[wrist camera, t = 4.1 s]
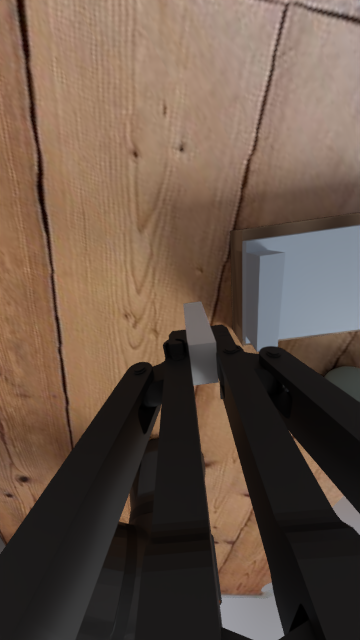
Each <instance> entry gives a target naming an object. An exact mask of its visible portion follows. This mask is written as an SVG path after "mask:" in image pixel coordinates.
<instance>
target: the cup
mask: <svg viewBox="0 0 360 640" xmlns="http://www.w3.org/2000/svg"><path fill="white" fill-rule="evenodd" d="M324 378H326V379H327V380H329V381H330V382H331V383H333V384H334V385H336V386H337V387H339V388H340V389H342V390H343V391H344V392H346V393H347V394H349V395H350V396H352V397H353V398H354V399H356V400H357V401H359V402H360V368H358V367H353V366H342V367H338V368H335V369H333V370H331V371H329V372H328V373H327V374H326V375H325V377H324Z"/></svg>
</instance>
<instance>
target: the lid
mask: <svg viewBox="0 0 360 640" xmlns="http://www.w3.org/2000/svg"><path fill="white" fill-rule="evenodd" d="M359 329H360V225H353V226H346V227H339V228H332V229H325V230H318V231H311V232H303V233H296V234H289V235H282V236H275V237H268V238H261V239H254V240H247V241H242V339H243V340H244V342H245V343H246V344H247V343H251V344H252V345H253V347H254V348H255V350H256V351H260V349H261V348H263V347H267V346H275V347H278V340H279V339H287V338H295V337H303V336H311V335H319V334H327V333H335V332H343V331H351V330H359Z"/></svg>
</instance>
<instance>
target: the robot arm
mask: <svg viewBox="0 0 360 640" xmlns="http://www.w3.org/2000/svg"><path fill="white" fill-rule="evenodd" d="M183 305H184V315H185V325H186V330H178V331H172V332H171V334H170V335H169V340H167V341H166V342H165V343H164V344H163V349H164V354H165V361H164V362H162V363H161V364H159V365H156V366H153V367H152V365H151V364H150V363H148V362H139V363H136V364H134V365H132V366H131V367H130V368H129V369H128V370H127V371H126V373H125V374H124V376H123V377H122V379H121V380H120V382H119V383H118V384H117V386H116V387H115V389H114V390H113V392H112V393H111V395H110V396H109V397H108V399H107V400H106V402H105V403H104V405H103V406H102V408H101V409H100V411H99V412H98V413H97V415H96V416H95V418H94V419H93V421H92V422H91V424H90V425H89V426H88V428H87V429H86V431H85V432H84V434H83V435H82V437H81V438H80V439H79V441H78V442H77V444H76V445H75V447H74V448H73V450H72V451H71V452H70V454H69V455H68V457H67V458H66V460H65V461H64V463H63V464H62V466H61V467H60V468H59V470H58V471H57V473H56V474H55V476H54V477H53V479H52V480H51V481H50V483H49V484H48V486H47V487H46V489H45V490H44V492H43V493H42V494H41V496H40V497H39V499H38V500H37V502H36V503H35V505H34V506H33V508H32V509H31V510H30V512H29V513H28V515H27V516H26V518H25V519H24V521H23V522H22V523H21V525H20V526H19V528H18V529H17V531H16V532H15V534H14V535H13V536H12V538H11V539H10V541H9V542H8V544H7V545H6V547H5V548H4V550H3V551H2V552H1V554H0V640H252V639H250V638H247V637H245V636H242V635H240V634H237V633H235V632H232V631H230V630H227V629H225V628H223V627H222V620H221V612H220V603H219V595H218V587H217V579H216V571H215V563H214V554H213V546H212V537H211V529H210V520H209V512H208V503H207V495H206V486H205V462H204V456H203V454H202V452H201V444H200V435H199V427H198V418H197V410H196V402H195V393H194V385H200V384H209V383H217V382H218V378H219V381H220V396H221V399H223V401H224V405H225V409H226V412H227V416H228V419H229V423H230V427H231V430H232V434H233V438H234V441H235V445H236V448H237V452H238V456H239V459H240V463H241V466H242V470H243V474H244V477H245V481H246V485H247V488H248V492H249V495H250V499H251V503H252V506H253V510H254V513H255V517H256V521H257V524H258V528H259V532H260V535H261V539H262V542H263V546H264V550H265V553H266V557H267V561H268V564H269V569H270V573H271V579H272V585H273V591H274V596H275V600H276V605H277V608H278V612H279V616H280V620H281V624H282V628H283V631H284V635H285V636H283V637H282V638H281V639H279V640H360V535H359V534H358V533H357V532H356V531H355V530H354V529H353V527H350V526H349V525H348V524H346V523H344V522H342V521H341V520H340V518H339V517H338V516H337V515H336V513H335V512H334V510H333V508H332V507H331V505H330V503H329V501H328V500H327V498H326V496H325V494H324V492H323V491H322V489H321V487H320V485H319V484H318V482H317V480H316V478H315V477H314V475H313V473H312V471H311V469H310V468H309V466H308V464H307V462H306V461H305V459H304V457H303V455H302V453H301V452H300V450H299V448H298V446H297V445H296V443H295V441H294V439H293V438H292V436H291V434H292V435H293V436H294V437H295V438H296V440H297V441H298V442H299V443H300V444H301V446H302V447H303V448H304V449H305V450H306V451H307V453H308V454H309V455H310V456H311V457H312V458H313V460H314V461H315V462H316V463H317V464H318V465H319V467H320V468H321V469H322V470H323V471H324V472H325V474H326V475H327V476H328V477H329V478H330V479H331V481H332V482H333V483H334V484H335V485H336V487H337V488H338V489H339V490H340V491H341V492H342V494H343V495H344V496H345V497H346V498H347V499H348V500H349V502H350V503H351V504H352V505H353V506H354V508H355V509H356V510H357V511H358V512H359V513H360V402H359V401H357V400H356V399H354V398H353V397H352V396H350V395H349V394H347V393H346V392H344V391H343V390H342V389H340V388H339V387H337V386H336V385H334V384H333V383H331V382H330V381H329V380H327V379H326V378H324V377H323V376H321V375H320V374H318V373H317V372H316V371H314V370H313V369H311V368H310V367H308V366H307V365H306V364H304V363H303V362H301V361H300V360H298V359H297V358H295V357H294V356H293V355H291V354H290V353H288V352H287V351H285V350H284V349H282V348H279V347H275V346H267V347H263V348H261V349H260V351H259V354H255V353H247V352H244V351H243V349H242V348H241V347H240V346H238V345H236V344H235V342H234V340H233V338H232V336H231V335H230V333H229V331H228V329H227V327H225V326H224V325H214V326H210V324H209V321H208V319H207V316H206V313H205V310H204V308H203V305H202V302H201V301H200V302H193V303H185V304H183ZM161 404H162V407H161ZM160 408H161V419H160V431H159V438H158V439H154V440H150V441H148V440H149V438H150V435H151V432H152V430H153V427H154V424H155V421H156V419H157V416H158V413H159V411H160ZM289 431H290V432H289ZM290 433H291V434H290ZM129 494H130V506H131V511H130V518H129V524H127V523H123V522H119V519H120V517H121V514H122V511H123V509H124V506H125V503H126V500H127V498H128V495H129Z"/></svg>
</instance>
